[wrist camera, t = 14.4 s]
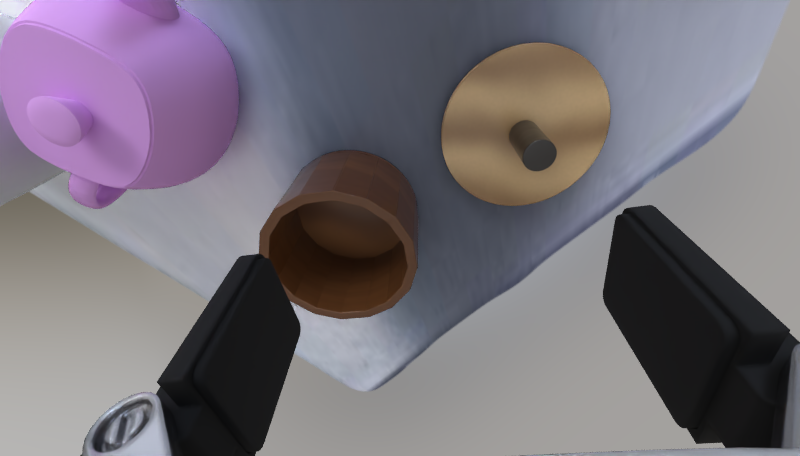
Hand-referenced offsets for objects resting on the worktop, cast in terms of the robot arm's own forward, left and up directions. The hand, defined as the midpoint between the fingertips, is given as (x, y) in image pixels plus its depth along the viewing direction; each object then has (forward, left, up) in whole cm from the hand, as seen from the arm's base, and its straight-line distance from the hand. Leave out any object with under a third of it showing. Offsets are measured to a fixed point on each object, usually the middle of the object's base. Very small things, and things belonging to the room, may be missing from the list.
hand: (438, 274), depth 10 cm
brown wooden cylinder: (+10, -9, -24) cm, 27 cm away
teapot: (-5, -21, -24) cm, 32 cm away
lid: (+4, +7, -23) cm, 25 cm away
